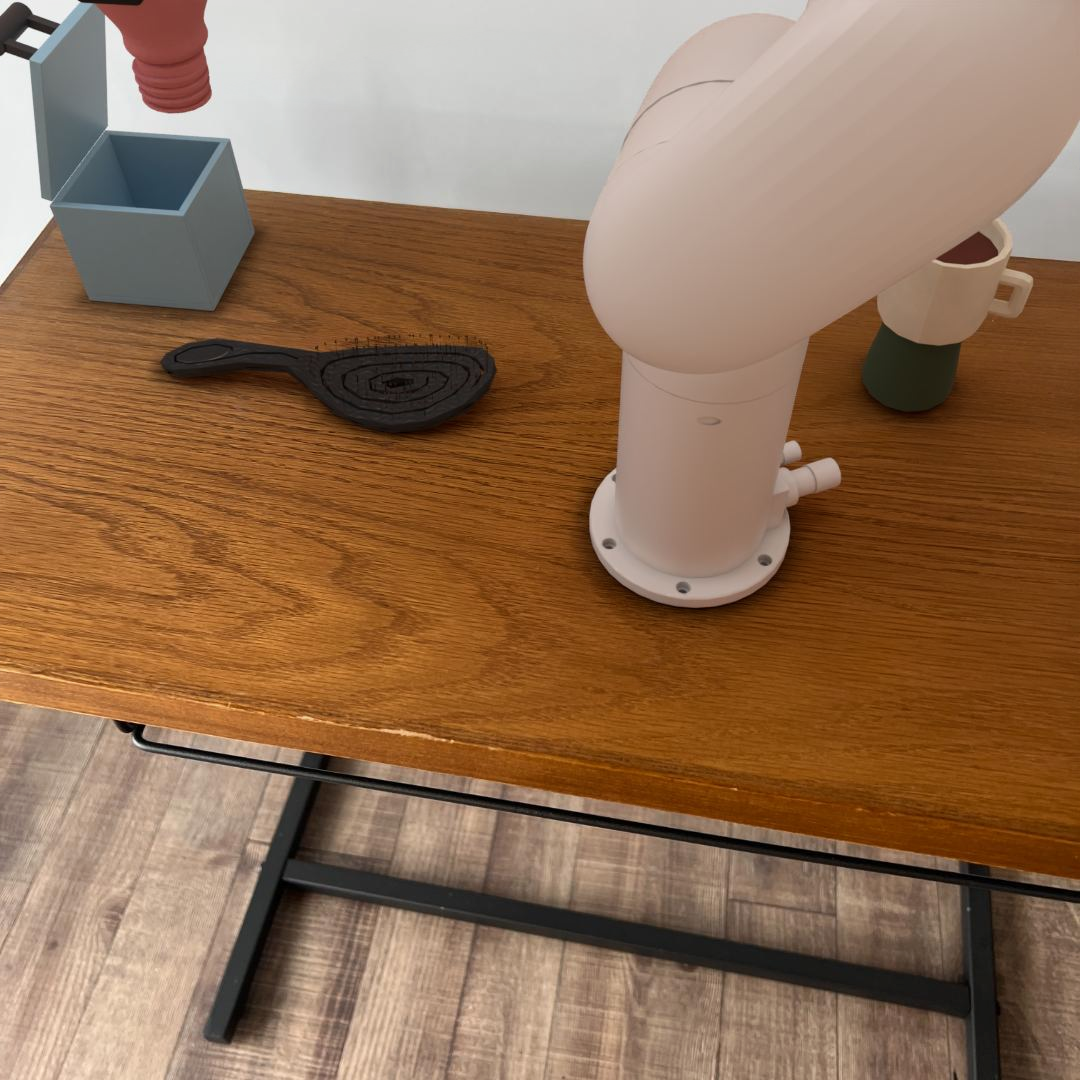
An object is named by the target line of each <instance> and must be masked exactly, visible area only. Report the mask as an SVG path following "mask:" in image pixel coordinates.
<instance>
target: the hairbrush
mask: <svg viewBox="0 0 1080 1080" xmlns="http://www.w3.org/2000/svg"><path fill="white" fill-rule="evenodd" d="M387 336H388V337H387V338H389V339H388V341H389V343H391V339H390V338H391V335H390V334H388V335H387ZM418 336H419V338H422V334H421V333H419V334H418ZM408 337H409V338H411V337H413V339H415V334H414V333H413V334H412V335H411V334H408ZM428 337H429V343H430V345H429V344H428V342H426V343H425V345H418V342H413V345H411V341H410V343H409V344H410V345H408V343H405V345H397V343H394V345H389V346H387V344H386V343H384V346H378V344H376V342H375V344H374V345H373V346H371V347H370V343H369V341H370V340H369V339H370V338H369V336H367V337H366V340H367V346H368V347H365V345H363V346H362V347H359V338H358V336H356V337H354V342H355V347H354V346H352V347H351V348H346V349H339V350H338V348H335V350H331V351H323V352H322V351H319V345H316V346H315V347H314V349H315V350H316V351H314V350H309V349H308V350H306V349H302V348H301V349H300V348H295V347H287V346H280V345H273V344H264V343H258V342H250V341H244V340H243V341H242V340H236V339H228V338H220V337H215V338H210V339H209V338H208V339H204V340H198V341H192V342H187V343H184V344H183V345H180V346H178V347H176V348H174V349H172V350H170V351H168V352H166V353H165V354H164V356H163V357H162V358H161V360H160V364H161V367H162V369H163V370H164V372H165V373H167V374H169V375H170V376H173V377H175V378H177V379H183V378H198V377H200V378H201V377H208V376H215V375H216V376H217V375H223V374H229V373H235V372H242V371H244V372H245V371H246V372H247V371H248V372H262V373H279V374H288V375H289V376H290V377H291V378H293V379H294V380H295V381H297V383H299V384H301V385H302V386H303V387H304V388H305V389H307V390H308V391H309V392H310V393H312V394H313V395H314V396H315V397H316V399H318V400H319V401H320V402H321V403H322V404H323V405H324V406H325V407H326V408H327V409H328V410H329V411H331V413H332V414H334V415H336V416H338V417H340V418H342V419H344V420H346V421H347V422H350V423H352V424H354V425H356V426H358V427H360V428H361V429H367V430H374V431H379V432H385V433H390V434H393V433H395V434H396V433H405V432H415V431H424V430H425V431H426V430H429V429H431V428H434V427H436V426H438V425H441V424H443V423H445V422H447V421H450V420H453V419H455V418H457V417H459V416H462V415H465V414H466V413H467V412H469V410H470V409H471V408H473V406H475V405H476V404H477V403H478V402H479V401H480V400H481V399H482V398H483V397H484V396H485V395H486V394H488V392H489V391H490V389H491V386H492V384H493V381H494V379H495V377H496V374H497V371H498V369H497V366H496V360H495V359H496V358H494V356H492V355H491V354H490V353H489V350H488V349H489V347H488V346H487V343H486V342H485V343H484V347H485V348H483V347H482V345H483V341H481V339H478V343H479V344H480V346H469V344H468V338H469V335H467V334H465V335H464V338H465V339H466V345H454V344H447V343H445V344H441V342H439V343H440V344H438V343H437V342H436V343H434V342H433V340H432V338H434V336H433V333H429V335H428ZM395 338H396V335H393V339H395ZM398 338H399V339H401V335H400V334H398ZM438 338H439V339H441V338H442V335H441V334H439V335H438ZM344 339H345V340H344V341H345V342H348V337H345V338H344ZM373 339H374V340H378V341H380V336H379V335H378V336H373ZM448 339H451V335H450V334H448ZM457 339H458V341H460V336H458V337H457ZM473 339H474V340H476V339H477V337H476V336H474V337H473ZM420 342H421V339H420ZM334 343H335V344H337V340H334ZM323 344H324V346H327V343H326V342H324V343H323ZM344 387H345V388H344Z"/></svg>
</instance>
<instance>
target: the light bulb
mask: <svg viewBox="0 0 1080 1080" xmlns="http://www.w3.org/2000/svg"><path fill="white" fill-rule="evenodd" d="M94 4H95V3H94ZM207 4H208V0H144V1H143V2H142V3H141V4H140V5H138V6H133V5H114V4H95V5H96V6H97V7H98V8H99V9H100V10H101V11H102V12H103V13H104V14H105V17H107V18H108V19H109V21H110V22H111V23H112V24H113V25H114V26H115V27H116V28H117V29H118V31H119V32H120V34H121V37H122V43H123V46H124V49H125V50H126V51H127V52H128V53H129V54H130V55H131V56H132V57H134V59H133V60H132V64H131V70H132V72H133V74H134V80H135V83H136V84H137V85H138V88H137V89H138V92H139V93H140V94H141V100H142V102H143V104H144V105H145V106H146V107H148V108H149V109H150V110H153V111H155V112H157V113H158V112H159V113H165V114H183V113H184V114H185V113H188V112H193V111H196V110H197V109H198V110H199V109H200V108H202V107H204V106H205V105H206V104H207V103H209V102H210V100H211V98H212V95H213V89H212V86H211V81H210V70H209V65H208V62H207V56H206V53H205V48H204V47H205V45H206V44H207V41H208V38H209V30H208V27H207V24H206V23H205V22H206V21H205V11H206V8H207Z"/></svg>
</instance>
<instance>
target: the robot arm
mask: <svg viewBox="0 0 1080 1080" xmlns="http://www.w3.org/2000/svg"><path fill="white" fill-rule="evenodd" d="M77 1H78V2H79V3H80V2H82V3H95V4H114V5H133V6H138V5H140V4H141V3H142V2H143V1H144V0H77ZM1079 123H1080V0H807V2H806V5H805V9H804V11H803V12H802V13H801V15H800V16H799V17H798V19H796V20H793V19H790V18H788V17H785V16H781V15H776V14H771V13H759V12H753V13H744V14H743V13H742V14H737V15H734V16H729V17H726V18H723V19H721V20H718V21H716V22H712V23H711V24H709V25H707V26H705V27H704V28H702V29H700V30H699V31H698V32H696V33H694V34H693V35H692V36H690V37H689V38H688V39H686V41H685V42H683V43H682V44H681V45H680V46H679V47H678V48H677V49H676V50H675V51H674V52H673V53H672V55H670V57H669V58H668V59H667V61H666V62H665V63H664V64H663V66H662V67H661V68H660V70H659V71H658V72H657V75H656V76H655V78H654V79H653V81H652V83H651V84H650V86H649V88H648V90H647V91H646V94H645V96H644V98H643V100H642V102H641V104H640V105H639V108H638V110H637V112H636V114H635V116H634V118H633V121H632V122H631V125H630V126H629V129H628V131H627V132H626V135H625V137H624V140H623V143H622V146H621V148H620V152H619V154H618V157H617V158H616V160H615V163H614V164H613V167H612V168H611V171H610V172H609V175H608V177H607V179H606V182H605V184H604V185H603V188H602V189H601V192H600V194H599V196H598V199H597V201H596V203H595V206H594V208H593V211H592V213H591V216H590V218H589V222H588V226H587V229H586V232H585V238H584V242H583V243H584V244H583V252H582V253H583V254H582V270H583V279H584V281H583V282H584V285H585V290H586V295H587V298H588V301H589V304H590V307H591V309H592V311H593V313H594V315H595V318H596V319H597V321H598V322H599V324H600V326H601V328H603V330H604V331H605V333H606V335H608V337H609V338H610V340H612V342H614V344H615V345H617V346H618V347H619V349H621V350H622V358H621V377H620V393H619V394H620V395H619V398H620V399H619V415H618V432H617V433H618V434H617V451H616V452H617V453H616V455H617V456H616V467H615V468H614V469H613V470H611V472H609V473H608V474H607V475H606V476H605V477H604V478H603V480H602V481H601V483H600V484H599V485H598V487H597V489H596V491H595V493H594V494H593V498H592V500H591V503H590V509H589V521H588V522H589V524H588V525H589V528H588V529H589V535H590V540H591V545H592V548H593V550H594V552H595V554H596V556H597V558H598V560H599V562H600V563H601V565H602V566H603V567H604V568H605V570H606V571H607V572H608V573H609V574H610V576H612V577H613V578H614V579H615V580H616V581H617V582H618V583H620V584H621V585H622V586H624V587H626V588H627V589H629V590H630V591H632V592H634V593H636V594H637V595H639V596H641V597H644V598H646V599H648V600H651V601H654V602H657V603H660V604H664V605H669V606H673V607H681V608H693V609H694V608H695V609H699V608H711V607H719V606H723V605H727V604H731V603H733V602H738V601H739V600H742V599H743V598H745V597H748V596H751V595H752V594H754V593H756V592H757V591H758V590H759V589H761V588H762V587H764V586H765V585H766V584H767V583H769V581H770V580H771V579H772V578H773V577H774V576H775V575H776V574H777V572H778V571H779V569H780V567H781V566H782V563H783V561H784V560H785V557H786V553H787V550H788V547H789V544H790V543H789V542H790V536H791V523H790V516H789V512H788V508H789V507H792V506H795V505H797V504H798V502H799V499H800V498H801V497H804V496H807V495H810V494H811V495H815V494H819V493H821V492H824V491H827V490H831V489H834V488H836V487H838V486H840V485H841V481H842V472H841V470H840V467H839V464H838V463H837V462H836V460H835V459H833V458H832V457H826V458H823V459H819V460H816V461H812V462H810V463H807V464H803V465H802V466H801V467H798V468H796V469H792V470H790V469H788V468H787V467H785V466H786V465H790V464H793V463H797V462H799V461H801V459H802V456H803V455H802V449H801V446H800V444H799V442H797V440H790V441H787V437H788V432H789V427H790V423H791V419H792V415H793V410H794V405H795V401H796V396H797V392H798V387H799V384H800V378H801V375H802V370H803V366H804V363H805V359H806V356H807V351H808V346H809V342H810V339H811V336H813V335H814V334H817V332H819V331H821V330H823V329H824V328H825V327H827V326H829V325H831V324H833V323H834V322H836V321H837V320H839V319H840V318H842V317H843V316H846V315H847V314H849V313H850V312H852V311H854V310H855V309H857V308H859V307H860V306H862V305H864V304H865V303H866V302H868V301H870V300H871V299H873V298H874V297H877V295H878V294H880V293H881V292H883V291H884V290H886V289H888V288H889V287H891V286H892V285H894V284H896V283H897V282H899V281H901V280H902V279H904V278H905V277H907V276H909V275H910V274H912V273H913V272H915V271H917V270H918V269H920V268H921V267H923V266H925V265H926V264H928V263H930V262H931V261H933V260H934V259H936V258H938V257H939V256H941V255H942V254H944V253H946V252H947V251H949V250H950V249H952V248H954V247H955V246H957V245H958V244H960V243H961V242H963V241H964V240H966V239H967V238H969V237H971V236H972V235H974V234H975V233H977V232H978V231H980V230H981V229H983V228H984V227H986V226H987V225H988V224H990V223H991V222H992V221H994V220H995V219H997V218H999V217H1001V216H1002V215H1003V214H1004V213H1005V212H1007V211H1008V210H1010V208H1011V207H1012V206H1013V205H1014V204H1016V203H1017V202H1018V201H1019V200H1021V198H1022V197H1024V195H1026V194H1027V193H1028V192H1029V191H1030V189H1031V188H1032V187H1033V186H1035V184H1037V182H1038V181H1039V180H1040V179H1041V177H1043V175H1044V174H1045V173H1046V172H1047V171H1048V170H1049V168H1050V167H1051V166H1052V165H1053V164H1054V163H1055V161H1056V160H1057V159H1058V157H1059V156H1060V154H1061V153H1062V151H1063V150H1064V149H1065V147H1066V146H1067V144H1068V142H1069V141H1070V140H1071V138H1072V135H1073V134H1074V132H1075V130H1076V129H1077V127H1078V125H1079ZM786 441H787V442H786Z"/></svg>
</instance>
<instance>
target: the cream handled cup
mask: <svg viewBox="0 0 1080 1080" xmlns="http://www.w3.org/2000/svg"><path fill="white" fill-rule="evenodd" d="M1013 244H1014V243H1013V235H1012V232H1011V231H1010V229H1009V228H1008V227H1007V225H1006V223H1004V221H1003V220H1002V219H1001V218H999V217H998V218H997V219H995V220H994V221H992V222H991V223H990V224H988V225H987V226H986V227H984V228H983V229H981V230H980V231H978V232H977V233H975V234H974V235H972V236H971V237H969V238H967V239H966V240H964V241H963V242H961V243H960V244H958V245H957V246H955V247H954V248H952V249H950V250H949V251H947V252H946V253H944V254H942V255H941V256H939V257H938V258H936V259H934V260H933V261H931V262H930V263H928V264H926V265H925V266H923V267H921V268H920V269H918V270H917V271H915V272H913V273H912V274H910V275H909V276H907V277H905V278H904V279H902V280H901V281H899V282H897V283H896V284H894V285H892V286H891V287H889V288H888V289H886V290H884V291H883V292H881V293H880V294H878V295H876V297H877V298H876V306H877V312H878V314H879V316H880V318H881V320H882V323H881V324H880V327H879V329H878V330H877V332H876V335H875V337H874V339H873V341H872V343H871V345H870V347H869V348H868V351H867V353H866V356H865V359H864V361H863V363H862V365H861V381H862V383H863V385H864V387H865V388H866V390H867V391H868V393H869V395H870V396H872V397H873V398H874V399H876V400H877V401H878V402H879V403H881V404H882V405H884V406H885V407H887V408H891V409H895V410H898V411H901V412H905V413H907V412H919V411H928V410H930V409H932V408H934V407H937V406H938V405H940V404H942V403H944V402H945V401H946V399H947V398H948V396H949V395H950V394H951V392H952V391H953V389H954V388H953V387H954V383H955V379H956V375H957V370H958V363H959V359H960V354H961V348H962V342H963V341H964V340H966V339H968V338H970V337H972V336H973V335H974V334H975V333H976V332H977V331H978V329H979V328H980V327H981V326H982V324H983V323H984V321H985V319H986V318H987V316H988V314H990V315H994V316H997V317H1002V318H1007V319H1015V318H1018V317H1019V315H1020V314H1021V313H1022V312H1023V310H1024V308H1025V305H1026V304H1027V301H1028V299H1029V296H1030V294H1031V292H1032V289H1033V287H1034V277H1032V276H1031V275H1030V274H1028V273H1026V272H1023V271H1019V270H1014V269H1010V268H1007V265H1008V262H1009V260H1010V257H1011V255H1012V252H1013V248H1014V245H1013ZM1000 285H1004V286H1008V287H1013V290H1012V293H1011V295H1010V298H1009V301H1006V300H1002V299H999V298H995V296H996V294H997V291H998V289H999V286H1000Z"/></svg>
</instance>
